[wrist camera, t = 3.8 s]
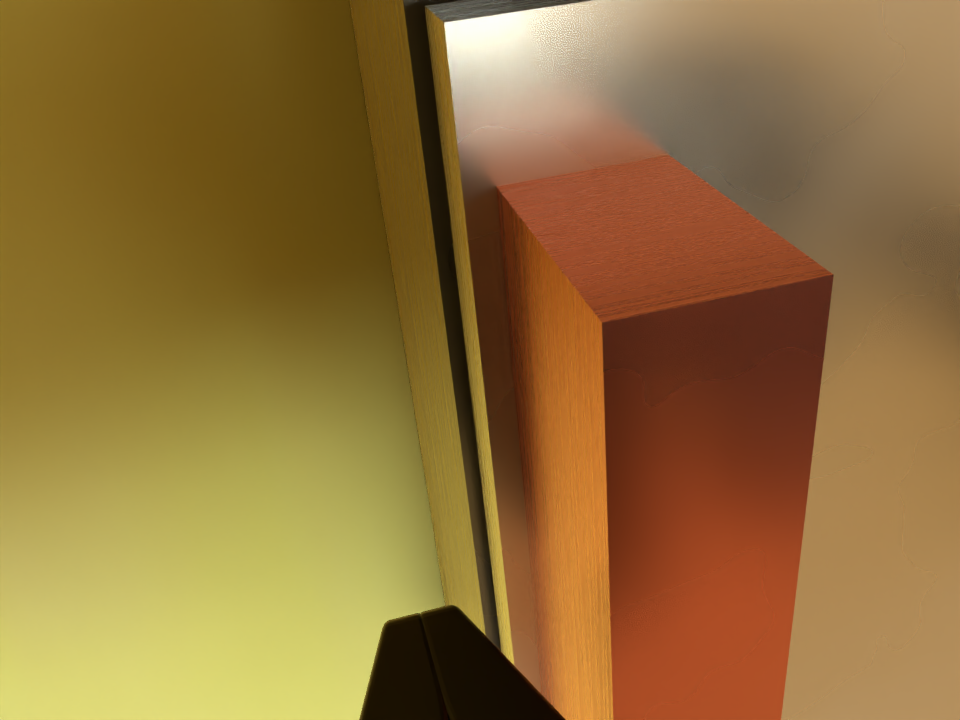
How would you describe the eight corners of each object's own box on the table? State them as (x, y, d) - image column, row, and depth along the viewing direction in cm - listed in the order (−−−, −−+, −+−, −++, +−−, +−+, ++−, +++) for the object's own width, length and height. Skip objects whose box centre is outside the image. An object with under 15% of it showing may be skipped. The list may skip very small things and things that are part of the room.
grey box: (1303, -467, 13) (2023, -663, 8) (1016, 548, 22) (1248, 757, 17) (287, -392, 10) (350, -596, 5) (459, 697, 20) (540, 986, 15)
